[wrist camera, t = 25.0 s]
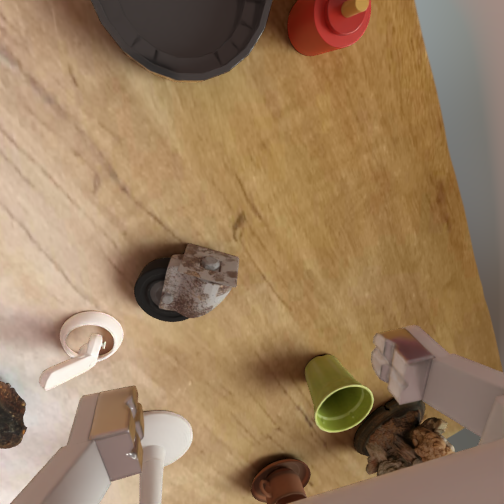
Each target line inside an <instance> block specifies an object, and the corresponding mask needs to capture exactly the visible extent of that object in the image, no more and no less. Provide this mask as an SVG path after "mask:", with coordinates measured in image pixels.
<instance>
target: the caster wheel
mask: <svg viewBox="0 0 504 504" xmlns="http://www.w3.org/2000/svg"><path fill="white" fill-rule="evenodd" d="M238 264H239V258H238V257H236V256H233V255H229V254H226V253H222V252H219V251H215V250H211V249H208V248H204V247H201V246H197V245H193V244H188V245H187V247H186V250H185V252H184V255H183V254H177V255H173V256H172V257H171V258H160V259H156V260H154V261H152V262H150V263H149V264H148V265H146V267H145V268H144V269H143V271H142V272H141V274H140V276H139V278H138V279H137V281H136V284H135V287H134V294H135V298H136V301H137V303H138V304H139V306H140V307H141V308H142V309H143V310H144V311H145V312H146V313H147V314H149V315H150V316H152V317H154V318H156V319H159V320H162V321H168V322H176V321H183V320H186V319H188V318H195V317H200V316H202V315H205V314H207V313H208V312H210V311H211V310H213V309H214V308H215V307H216V306H217V305H218V304H219V303H220V302H221V301H222V300H223V299H224V298H225V297H226V296H227V295H228V293H229V292H230V290H231V288H232V287H236V285H237V274H238Z"/></svg>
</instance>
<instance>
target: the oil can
mask: <svg viewBox="0 0 504 504" xmlns="http://www.w3.org/2000/svg"><path fill="white" fill-rule="evenodd" d="M370 14H371V0H298V1H297V2H296V3H295V4H294V6H293V7H292V9H291V11H290V14H289V17H288V24H287V30H288V36H289V39H290V42H291V43H292V45H293V47H294V48H295V49H296V50H297V51H298V52H299V53H301V54H303V55H306V56H315V55H318V54H322V53H326V52H330V51H333V50H337V49H341V48H344V47H348V46H350V45H352V44H354V43H355V42H356V41H357V40H358V39H359V38H360V37H361V36H362V35H363V33H364V32H365V30H366V28H367V26H368V23H369V19H370Z"/></svg>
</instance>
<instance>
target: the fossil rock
mask: <svg viewBox="0 0 504 504" xmlns="http://www.w3.org/2000/svg"><path fill="white" fill-rule="evenodd" d="M10 387H11V385H10V384H9V383H6V384H5V383H4V382H1V381H0V448H3V449H7V448H12V447H15V446H17V445H18V444H19V443H20V442H21V441H22V438H23V435H24V434H25V432H26V429H27V427H26V426H25V425H24V422H23V415H24V413H25V406H26V403H25V401H24V400H23V399H22V398H21V397H20V396H19V395H18V394H17V393H16V391H15V389H14V388H10Z"/></svg>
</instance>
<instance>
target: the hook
mask: <svg viewBox="0 0 504 504" xmlns="http://www.w3.org/2000/svg"><path fill="white" fill-rule="evenodd" d="M84 325H96V326H100V327H103V328H105V329H106V330H108V331H109V332H110V333H111V335H112V337H113V339H114V346H113V348H112V350H111V351H109V352H108V353H106V354H103V355H99V356H98V354H99V350H100V349H101V347H103V349H105V345H106V342H104V343H102V341H103V339H102V335H100V334H91V335H90V338H89V342H88V344H85V345H83V346H82V347H81V348H80V349H79V354H78V353H76V352H74V351H72V350H71V349H70V348H69V347H68V346H67V344H66V339H67V336H68V335H69V333H70V332H71V331H72V330H74V329H75V328H77V327H80V326H84ZM123 336H124V335H123V329H122V327H121V325H120V323H119V322H118V321H117V320H116V319H115V318H113V317H112V316H110V315H108V314H106V313H102V312H98V311H86V312H81V313H78V314H75V315H73V316H72V317H70V318H69V319H68V320H67V321H66V322H65V323H64V324H63V326H62V328H61V330H60V341H61V345H62V347H63V349H64V351H65V352H66V353H67V354H68V355H69V356H70V357H71V359H68V360H66V361H64V362H61V363H59V364H57V365H54V366H52V367H50V368H48V369H46V370H44V371H43V372H42V374H41V376H40V378H39V383H40V385H41V386H42V387H43V388H44V389H45V390H49V389H52V388H54V387H56V386H58V385H60V384H62V383H64V382H66V381H68V380H70V379H72V378H74V377H76V376H78V375H80V374H82V373H84V372H86V371H88V370H89V369H90V368H92V367H94V366H95V364H96V362H99V361H102V360H104V359H106V358H108V357H109V356H111V355H112V354H113V353H114V352H115V351H116V350H117V349H118V348H119V346H120V345H121V343H122V341H123Z"/></svg>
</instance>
